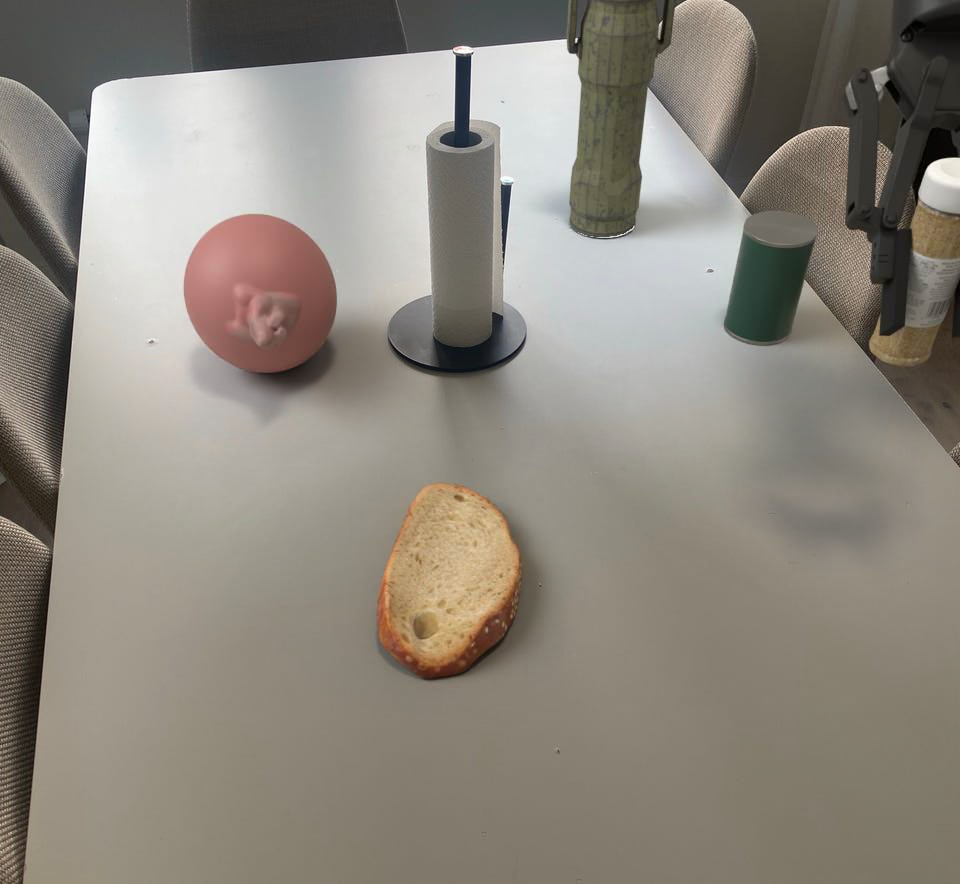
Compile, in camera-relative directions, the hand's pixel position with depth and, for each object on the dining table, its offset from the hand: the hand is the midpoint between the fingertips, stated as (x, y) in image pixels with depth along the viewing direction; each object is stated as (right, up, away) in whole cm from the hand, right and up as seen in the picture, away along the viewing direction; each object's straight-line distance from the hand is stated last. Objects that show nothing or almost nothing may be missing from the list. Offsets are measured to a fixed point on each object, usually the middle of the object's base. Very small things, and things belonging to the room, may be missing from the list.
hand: (928, 331), depth 66 cm
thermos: (-15, +33, +58) cm, 68 cm away
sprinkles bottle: (0, 0, +6) cm, 6 cm away
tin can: (0, +14, +41) cm, 43 cm away
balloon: (-54, +7, +36) cm, 65 cm away
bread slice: (-35, -17, +15) cm, 41 cm away
